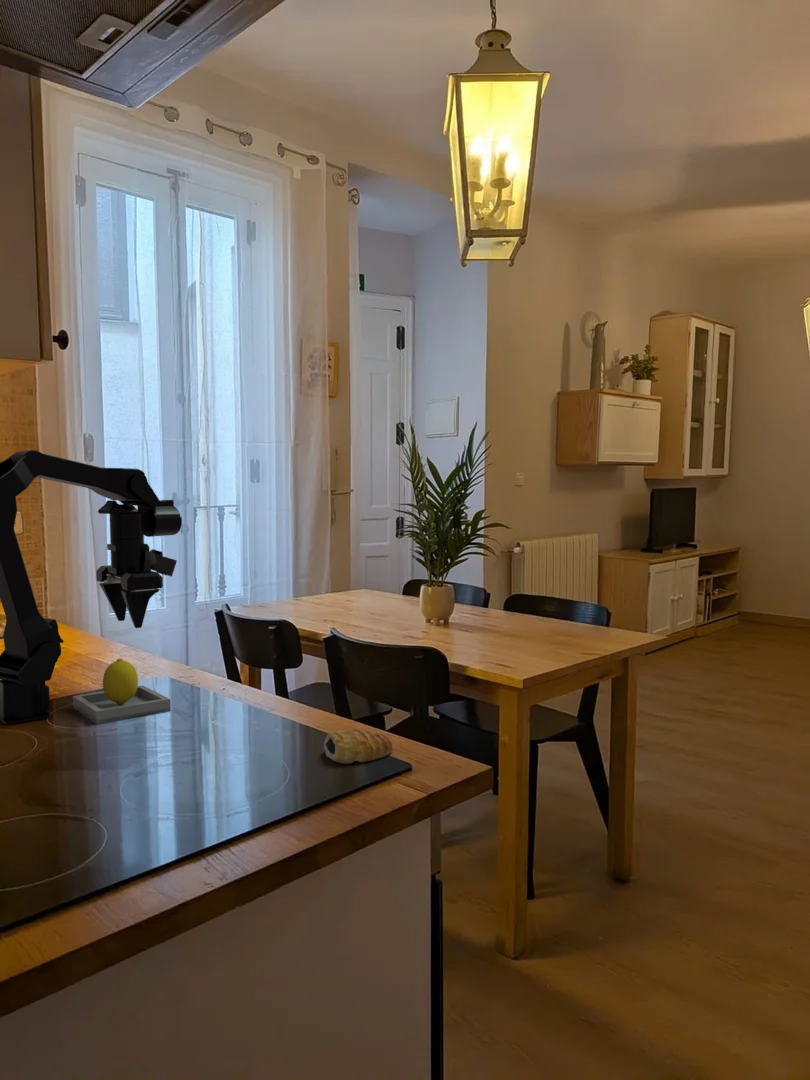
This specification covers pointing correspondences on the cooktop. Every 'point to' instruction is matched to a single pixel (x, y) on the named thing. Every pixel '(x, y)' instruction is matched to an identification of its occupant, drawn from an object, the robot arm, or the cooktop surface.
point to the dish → (108, 711)
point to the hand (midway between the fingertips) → (129, 624)
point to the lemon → (120, 681)
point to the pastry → (356, 746)
